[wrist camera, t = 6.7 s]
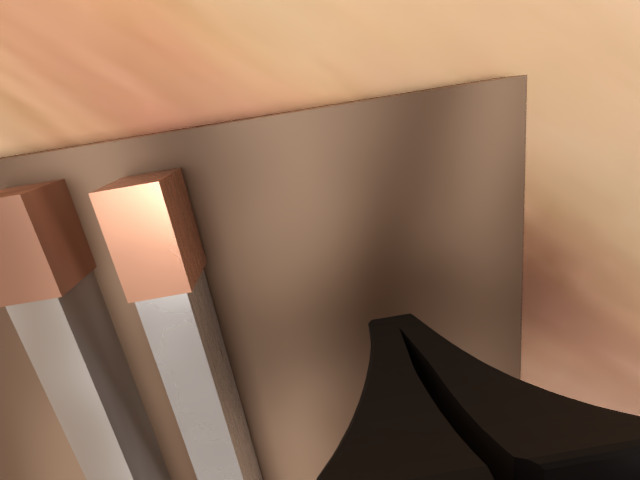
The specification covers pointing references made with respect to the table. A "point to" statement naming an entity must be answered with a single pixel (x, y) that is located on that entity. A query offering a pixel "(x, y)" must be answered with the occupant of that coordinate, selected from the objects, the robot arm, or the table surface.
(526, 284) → the table surface
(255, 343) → the tongs board
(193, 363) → the tong arm
